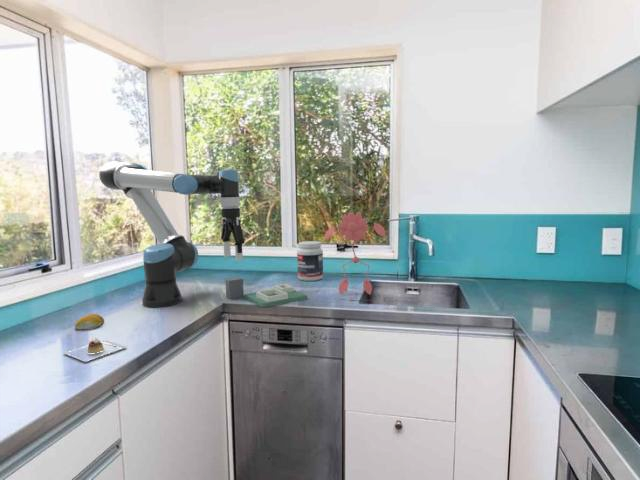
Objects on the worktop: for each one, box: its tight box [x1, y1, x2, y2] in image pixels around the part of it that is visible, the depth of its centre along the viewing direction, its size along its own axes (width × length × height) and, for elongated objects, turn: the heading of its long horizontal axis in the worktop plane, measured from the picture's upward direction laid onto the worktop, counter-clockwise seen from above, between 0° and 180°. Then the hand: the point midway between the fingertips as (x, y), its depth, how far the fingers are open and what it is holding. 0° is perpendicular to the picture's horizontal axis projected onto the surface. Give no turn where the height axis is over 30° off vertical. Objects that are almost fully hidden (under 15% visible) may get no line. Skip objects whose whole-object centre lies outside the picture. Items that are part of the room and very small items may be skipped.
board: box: [243, 283, 308, 308], centre depth 170 cm, size 20×18×4 cm
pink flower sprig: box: [324, 211, 386, 302], centre depth 168 cm, size 15×26×35 cm, turn 75°
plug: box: [224, 276, 245, 301], centre depth 173 cm, size 7×4×8 cm
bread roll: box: [74, 313, 105, 331], centre depth 140 cm, size 8×9×4 cm
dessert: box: [63, 337, 128, 363], centre depth 117 cm, size 12×12×5 cm
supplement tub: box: [296, 240, 324, 282], centre depth 205 cm, size 13×13×18 cm
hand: (233, 258), depth 171 cm, fingers open, 13 cm apart
